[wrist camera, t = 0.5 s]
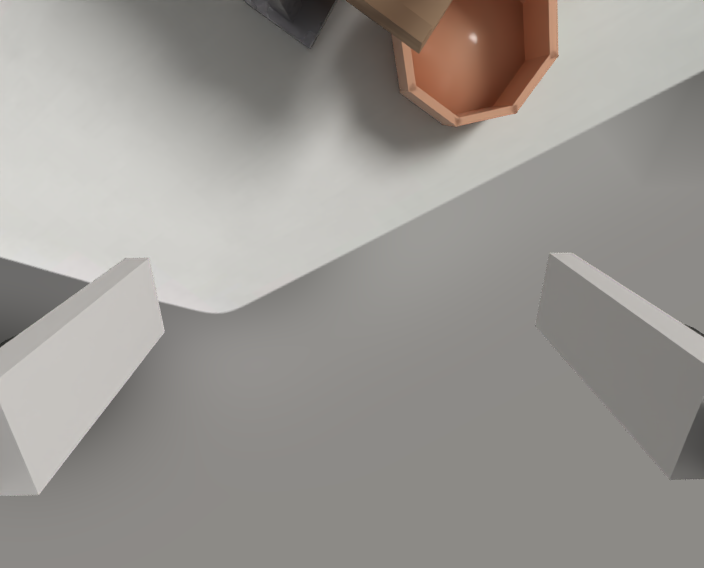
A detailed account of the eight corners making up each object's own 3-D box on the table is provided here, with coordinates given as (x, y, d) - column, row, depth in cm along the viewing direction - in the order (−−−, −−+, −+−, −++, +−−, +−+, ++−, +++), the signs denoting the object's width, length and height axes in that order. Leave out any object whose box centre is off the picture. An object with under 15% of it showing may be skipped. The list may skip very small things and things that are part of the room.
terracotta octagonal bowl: (382, -16, 33) (389, -36, 28) (526, -51, 32) (557, -78, 28) (405, 133, 37) (414, 136, 33) (532, 104, 37) (559, 104, 32)
